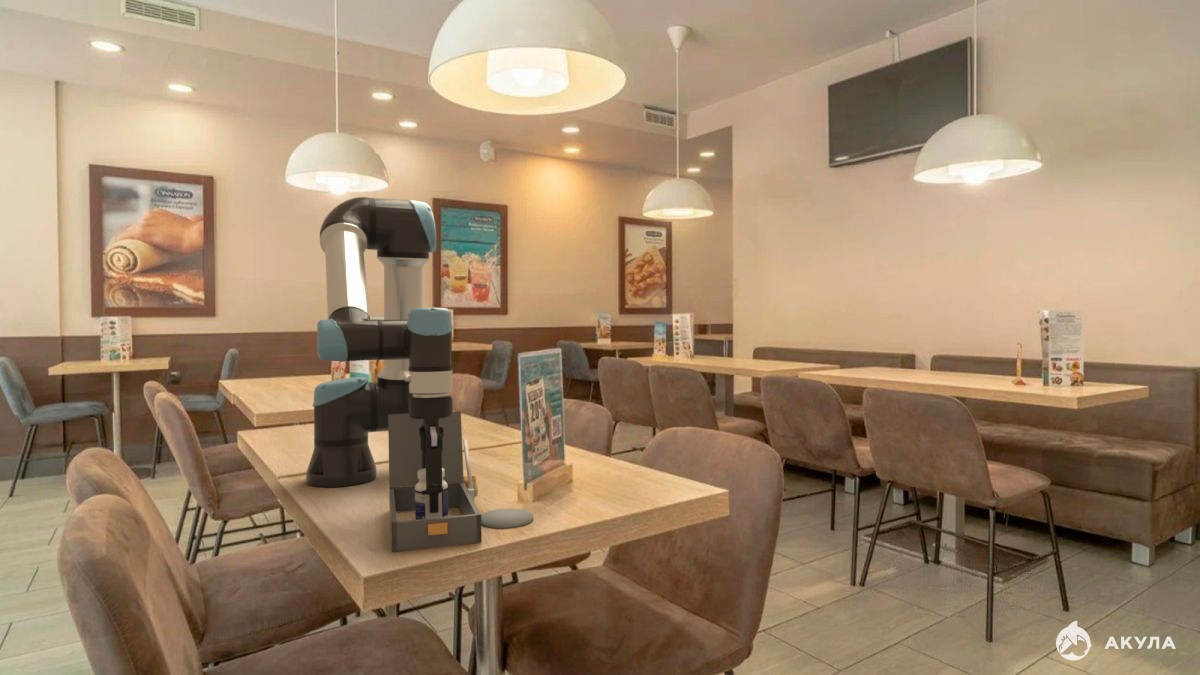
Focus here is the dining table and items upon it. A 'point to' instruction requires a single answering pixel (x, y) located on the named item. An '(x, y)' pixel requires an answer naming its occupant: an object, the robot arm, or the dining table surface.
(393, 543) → the case
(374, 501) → the dining table surface
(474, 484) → the pastry
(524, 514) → the pad
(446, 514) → the pill bottle
